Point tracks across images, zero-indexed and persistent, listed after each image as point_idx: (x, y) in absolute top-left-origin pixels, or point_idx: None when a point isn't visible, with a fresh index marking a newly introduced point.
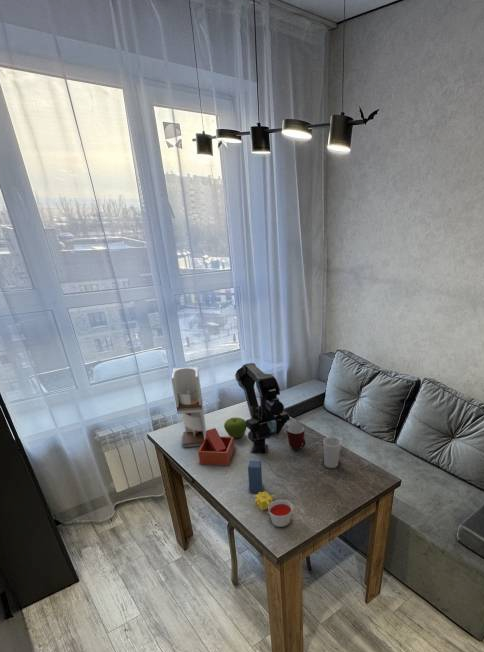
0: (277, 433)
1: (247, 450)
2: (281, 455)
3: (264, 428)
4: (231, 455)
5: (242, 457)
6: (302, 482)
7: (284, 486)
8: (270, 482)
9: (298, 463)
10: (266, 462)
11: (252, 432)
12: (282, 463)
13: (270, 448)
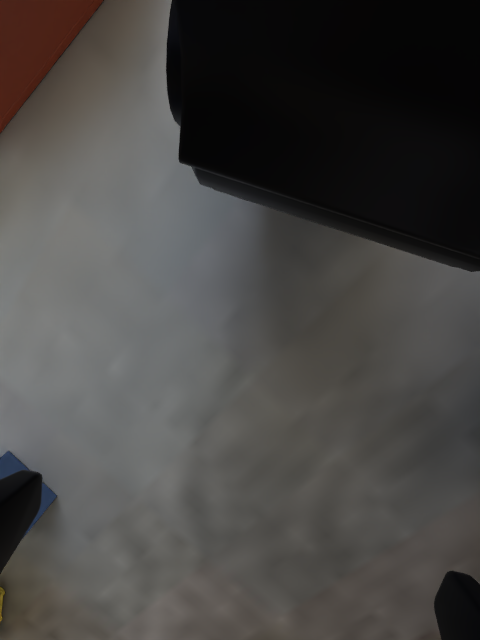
0: (448, 617)
1: None
2: (392, 350)
3: (454, 212)
4: (59, 40)
5: (136, 133)
6: (251, 625)
7: (152, 579)
8: (113, 506)
9: (392, 505)
10: (237, 336)
11: (169, 65)
12: (312, 428)
13: None
